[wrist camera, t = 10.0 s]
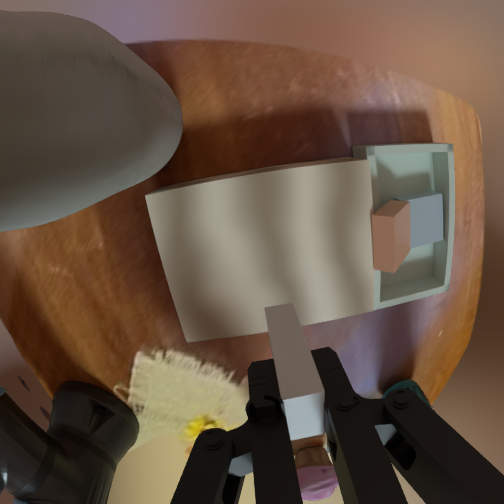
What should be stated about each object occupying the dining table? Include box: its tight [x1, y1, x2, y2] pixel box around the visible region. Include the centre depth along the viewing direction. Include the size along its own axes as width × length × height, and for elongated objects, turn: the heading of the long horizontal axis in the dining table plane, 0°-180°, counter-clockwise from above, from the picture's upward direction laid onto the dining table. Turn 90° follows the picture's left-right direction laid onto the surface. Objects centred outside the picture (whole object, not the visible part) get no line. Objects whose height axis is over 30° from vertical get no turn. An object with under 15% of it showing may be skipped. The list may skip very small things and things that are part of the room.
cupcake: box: [294, 446, 339, 501], centre depth 37 cm, size 9×9×10 cm
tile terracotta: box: [372, 200, 410, 273], centre depth 25 cm, size 5×5×2 cm
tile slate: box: [393, 190, 443, 249], centre depth 27 cm, size 5×5×2 cm
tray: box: [352, 143, 455, 310], centre depth 27 cm, size 10×16×4 cm, turn 9°
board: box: [145, 157, 375, 342], centre depth 27 cm, size 18×14×5 cm
